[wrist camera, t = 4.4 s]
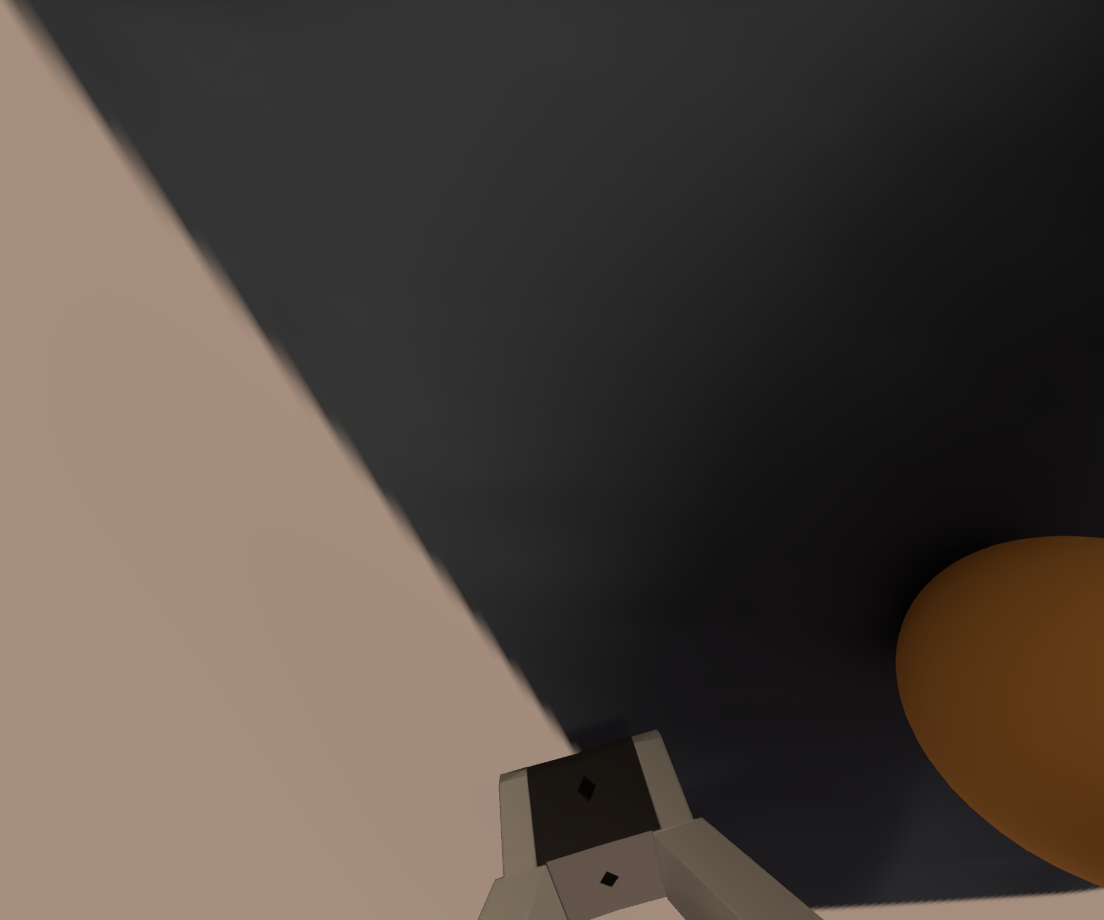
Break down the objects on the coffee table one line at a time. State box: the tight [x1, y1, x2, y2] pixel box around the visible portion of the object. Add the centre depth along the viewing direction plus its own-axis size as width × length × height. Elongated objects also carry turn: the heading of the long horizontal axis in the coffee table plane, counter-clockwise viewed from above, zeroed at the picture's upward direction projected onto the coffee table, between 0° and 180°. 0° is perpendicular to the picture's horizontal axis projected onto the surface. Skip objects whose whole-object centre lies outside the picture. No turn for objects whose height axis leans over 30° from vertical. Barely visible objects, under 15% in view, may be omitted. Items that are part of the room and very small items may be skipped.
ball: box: [896, 536, 1104, 887], centre depth 9 cm, size 6×6×6 cm
